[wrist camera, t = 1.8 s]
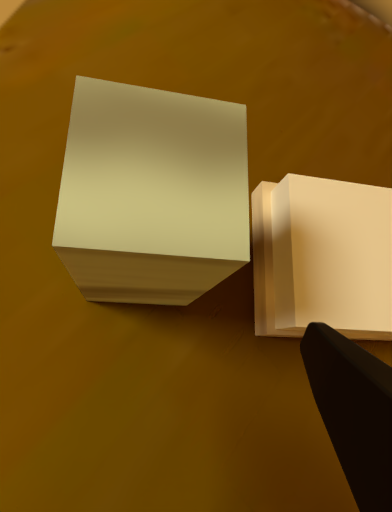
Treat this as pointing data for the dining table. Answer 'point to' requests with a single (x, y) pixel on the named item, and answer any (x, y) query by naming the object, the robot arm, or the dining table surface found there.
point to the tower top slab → (332, 255)
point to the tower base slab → (265, 270)
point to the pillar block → (152, 194)
